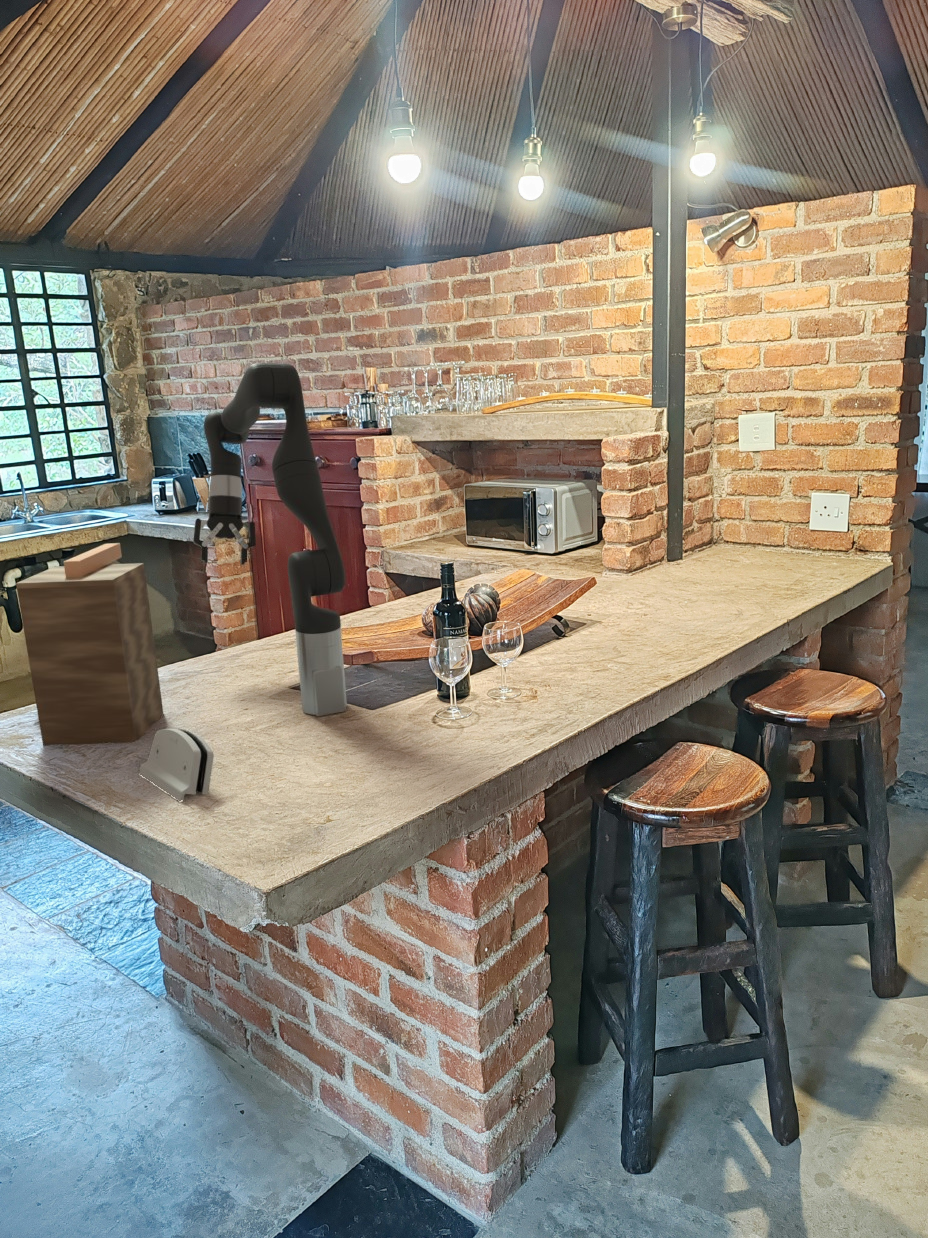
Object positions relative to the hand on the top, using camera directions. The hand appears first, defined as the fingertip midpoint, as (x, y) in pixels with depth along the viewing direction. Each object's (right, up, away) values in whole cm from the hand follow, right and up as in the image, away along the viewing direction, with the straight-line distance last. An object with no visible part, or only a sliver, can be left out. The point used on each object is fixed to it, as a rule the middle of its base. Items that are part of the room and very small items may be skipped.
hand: (224, 564), depth 216 cm
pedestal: (-15, -35, -34) cm, 51 cm away
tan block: (-16, -3, -36) cm, 40 cm away
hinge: (+8, -41, -60) cm, 74 cm away
